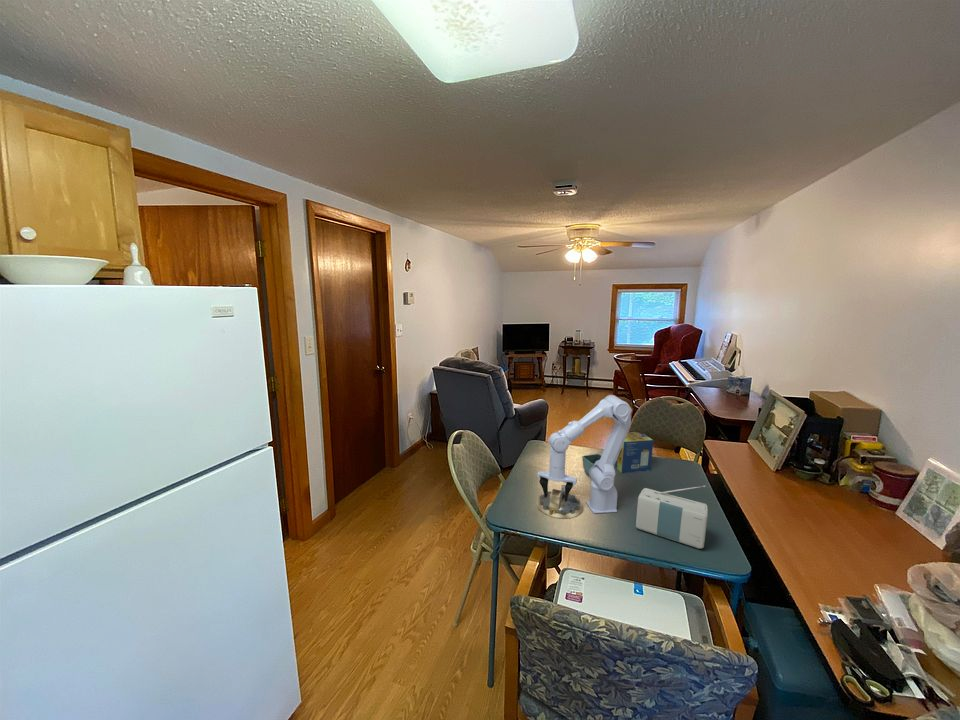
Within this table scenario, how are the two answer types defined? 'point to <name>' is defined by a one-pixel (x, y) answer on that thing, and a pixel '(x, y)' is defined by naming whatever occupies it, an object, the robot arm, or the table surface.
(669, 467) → the table surface
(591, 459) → the flower pot
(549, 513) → the sprocket base
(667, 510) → the stereo radio cassette player
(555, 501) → the link block
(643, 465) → the protein box
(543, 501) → the sprocket
